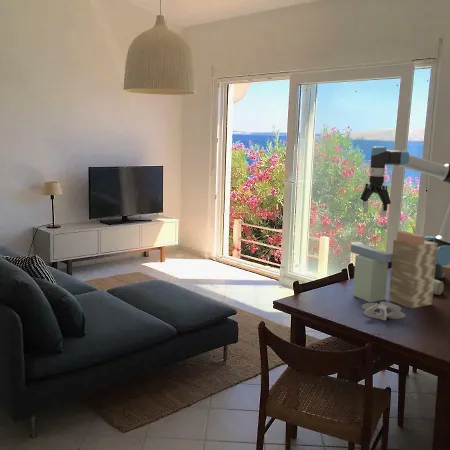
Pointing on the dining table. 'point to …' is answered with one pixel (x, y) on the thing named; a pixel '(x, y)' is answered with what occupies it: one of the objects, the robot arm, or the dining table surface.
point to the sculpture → (383, 306)
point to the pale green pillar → (370, 279)
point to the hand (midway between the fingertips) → (374, 214)
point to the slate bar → (371, 253)
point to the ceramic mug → (438, 287)
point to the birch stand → (413, 273)
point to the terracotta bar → (410, 238)
